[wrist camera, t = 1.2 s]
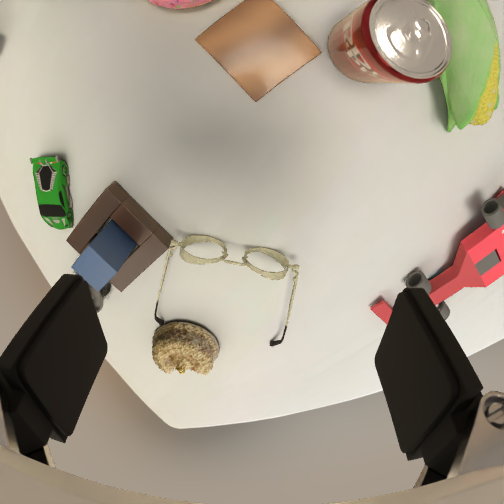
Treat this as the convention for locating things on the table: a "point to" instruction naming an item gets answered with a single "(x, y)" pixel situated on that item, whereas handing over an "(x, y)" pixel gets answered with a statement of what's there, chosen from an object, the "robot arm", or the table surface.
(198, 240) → the gold eyeglasses
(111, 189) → the brown square frame
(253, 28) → the cork mat
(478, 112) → the corn
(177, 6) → the doughnut
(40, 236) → the table surface
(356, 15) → the soda can
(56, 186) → the toy car
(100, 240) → the peg
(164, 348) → the cake
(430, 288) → the race car
